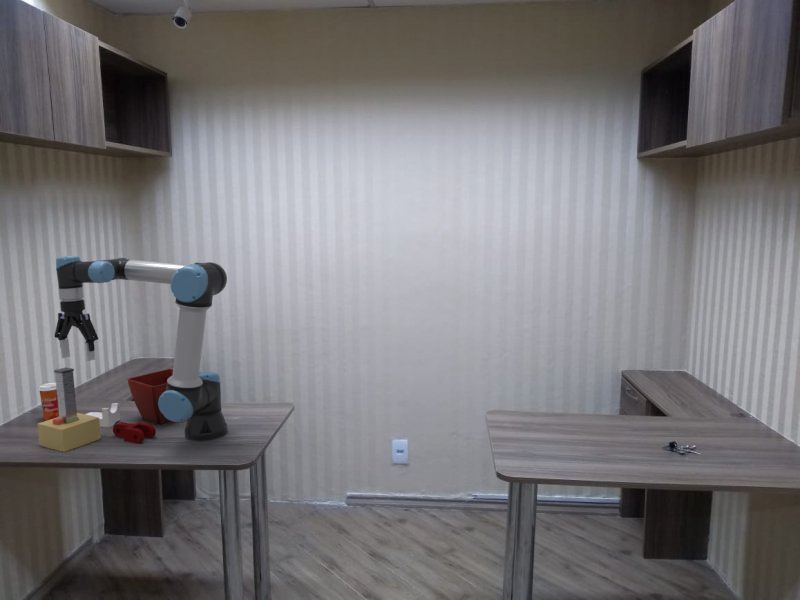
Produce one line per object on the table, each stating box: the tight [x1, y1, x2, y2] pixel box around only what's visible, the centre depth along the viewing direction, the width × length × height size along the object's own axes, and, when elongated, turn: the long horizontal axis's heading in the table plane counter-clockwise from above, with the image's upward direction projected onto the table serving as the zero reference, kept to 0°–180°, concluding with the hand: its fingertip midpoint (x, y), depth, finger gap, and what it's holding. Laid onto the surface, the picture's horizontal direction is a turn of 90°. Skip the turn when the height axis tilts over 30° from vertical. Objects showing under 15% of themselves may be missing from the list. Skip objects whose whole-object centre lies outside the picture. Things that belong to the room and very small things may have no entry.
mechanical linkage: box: [112, 421, 157, 444], centre depth 220 cm, size 16×7×5 cm, turn 67°
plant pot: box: [127, 368, 173, 425], centre depth 241 cm, size 19×19×17 cm
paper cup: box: [38, 382, 59, 421], centre depth 241 cm, size 8×8×14 cm
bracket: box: [85, 402, 121, 428], centre depth 235 cm, size 13×7×8 cm, turn 81°
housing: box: [37, 412, 102, 453], centre depth 216 cm, size 14×14×10 cm
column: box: [53, 367, 79, 424], centre depth 214 cm, size 5×5×21 cm
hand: (78, 358), depth 215 cm, fingers open, 13 cm apart
